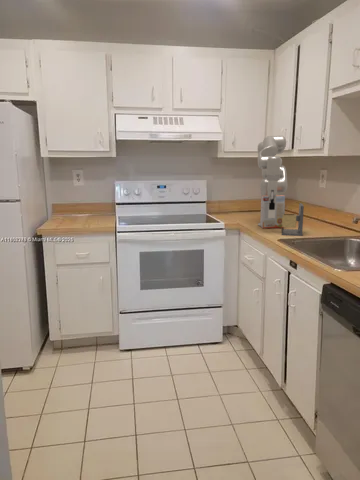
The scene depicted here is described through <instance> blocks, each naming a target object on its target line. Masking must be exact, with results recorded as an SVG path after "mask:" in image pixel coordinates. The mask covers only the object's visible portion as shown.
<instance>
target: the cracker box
mask: <svg viewBox="0 0 360 480" xmlns="http://www.w3.org/2000/svg"><path fill="white" fill-rule="evenodd" d="M267 196H268V195H267ZM267 196H261V195H260V218H261V226H260V228H262V229H285V227H282V216H283V214H286V211H285V208H286V195H282V194H280V195H279V194H276V207H275V218H268V208H269V198H268V197H267Z"/></svg>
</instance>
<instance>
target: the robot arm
mask: <svg viewBox="0 0 360 480" xmlns="http://www.w3.org/2000/svg"><path fill="white" fill-rule="evenodd" d="M286 146H287V139H286V137H285V136H283V135H269V136H265V137H264V138H263V141H261V142H259V143H258V145H257V154H258V155H257V166H258V168H259V169H260V170H261V177H262V179H261V180H260V182H259V188H260V197H261V196H267V195H268V196H267V197H268V198H269V197H270V203H269V210H275V197H276V195H278V193H286V192H287V190H288V174H287V169H286V166H285V165H283V159H282V157H280V156H279V155H280V154H282V153H283V152H284V151H285V149H286ZM277 155H278V156H277ZM273 197H274V198H273ZM257 226H259V227H261V217H260V222H258V223H257Z"/></svg>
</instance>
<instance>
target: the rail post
mask: <svg viewBox="0 0 360 480" xmlns="http://www.w3.org/2000/svg"><path fill="white" fill-rule="evenodd" d="M273 198H274V197H273ZM269 203H270V197H269ZM275 207H276V197H275ZM268 218H275V210H269V208H268Z"/></svg>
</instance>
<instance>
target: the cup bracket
mask: <svg viewBox="0 0 360 480" xmlns="http://www.w3.org/2000/svg"><path fill="white" fill-rule="evenodd" d="M304 207H305V206H304V204H303V203H301V202H300V203H298V215H297V214H296V213H285V214H283V216H282V227H284V228H281V236H293V237H294V236H297V237H302V236H304V235H303V229H304V228H303V227H304V211H305V210H304ZM297 223H298V225H297ZM296 226H297V227H296ZM291 228H295V229H291ZM296 228H297V229H296Z"/></svg>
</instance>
